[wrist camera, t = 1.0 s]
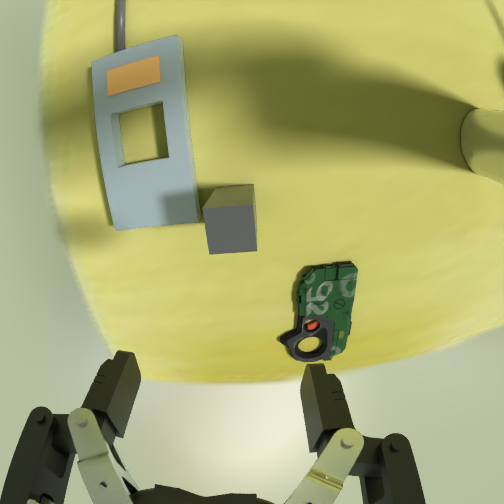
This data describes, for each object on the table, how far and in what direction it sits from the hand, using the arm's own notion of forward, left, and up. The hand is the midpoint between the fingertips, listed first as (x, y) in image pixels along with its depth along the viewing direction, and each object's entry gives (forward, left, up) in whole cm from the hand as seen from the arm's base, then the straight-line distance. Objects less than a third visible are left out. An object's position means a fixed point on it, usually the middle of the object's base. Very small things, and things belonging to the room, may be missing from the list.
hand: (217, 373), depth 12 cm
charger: (0, -2, -21) cm, 21 cm away
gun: (-9, +14, -21) cm, 27 cm away
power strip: (+9, -18, -21) cm, 29 cm away
